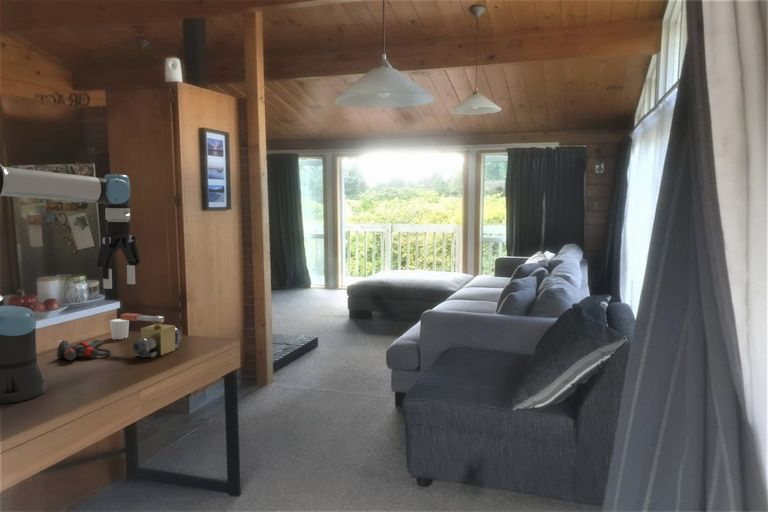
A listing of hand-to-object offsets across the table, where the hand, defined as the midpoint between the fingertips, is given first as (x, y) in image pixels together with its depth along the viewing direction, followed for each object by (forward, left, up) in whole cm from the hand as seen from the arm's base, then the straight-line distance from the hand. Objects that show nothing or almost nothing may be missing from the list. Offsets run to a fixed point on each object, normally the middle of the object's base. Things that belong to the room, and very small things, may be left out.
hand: (119, 286), depth 189 cm
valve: (-1, +11, -25) cm, 27 cm away
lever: (+7, -3, -13) cm, 15 cm away
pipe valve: (+7, -9, -24) cm, 27 cm away
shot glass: (+20, +18, -24) cm, 36 cm away
